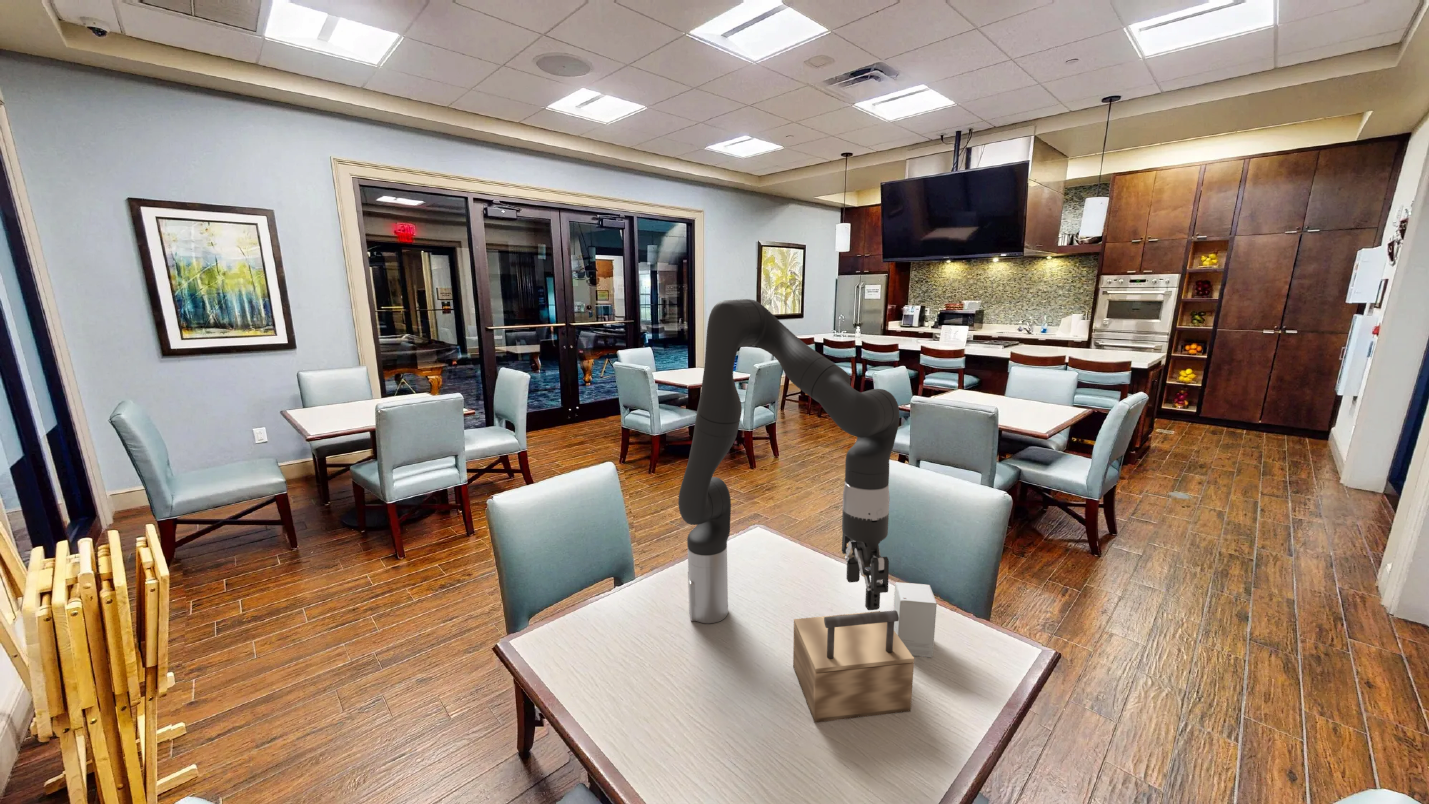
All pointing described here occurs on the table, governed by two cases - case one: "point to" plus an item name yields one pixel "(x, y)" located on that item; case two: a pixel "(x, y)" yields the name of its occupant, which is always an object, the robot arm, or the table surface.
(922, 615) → the supplement box
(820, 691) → the wooden box
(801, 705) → the table surface
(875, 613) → the wooden box lid
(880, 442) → the robot arm
